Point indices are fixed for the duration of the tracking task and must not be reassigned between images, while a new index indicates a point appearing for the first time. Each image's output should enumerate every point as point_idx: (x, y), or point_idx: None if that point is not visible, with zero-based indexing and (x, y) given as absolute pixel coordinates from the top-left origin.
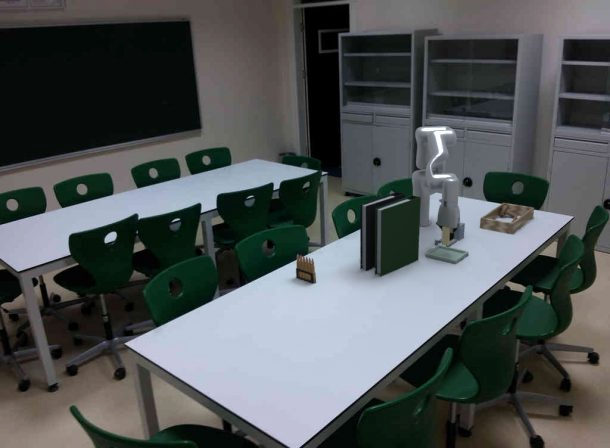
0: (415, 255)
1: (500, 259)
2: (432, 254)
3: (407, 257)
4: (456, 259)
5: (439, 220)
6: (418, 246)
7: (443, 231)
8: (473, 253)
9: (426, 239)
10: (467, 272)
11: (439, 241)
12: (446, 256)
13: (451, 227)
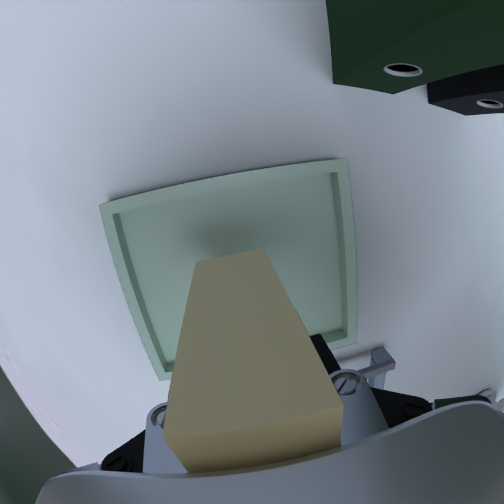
0: (348, 39)
1: (55, 395)
2: (298, 174)
3: None
4: (111, 227)
5: (501, 482)
6: (383, 44)
7: (280, 343)
8: (162, 394)
9: (431, 358)
10: (15, 162)
11: (369, 370)
12: (222, 251)
13: (123, 473)
